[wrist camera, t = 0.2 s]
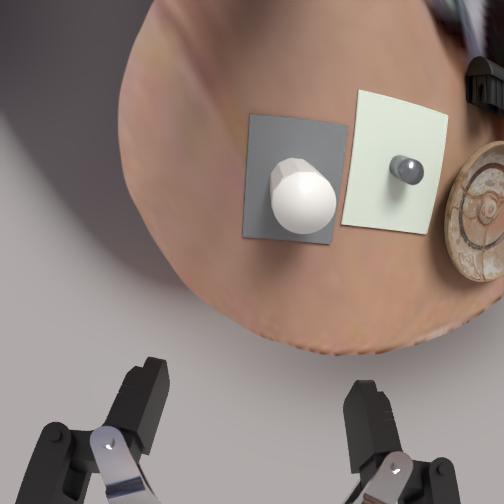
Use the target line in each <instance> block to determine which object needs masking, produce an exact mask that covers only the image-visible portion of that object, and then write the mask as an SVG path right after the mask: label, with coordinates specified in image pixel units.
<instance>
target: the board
mask: <svg viewBox="0 0 504 504" xmlns="http://www.w3.org/2000/svg"><path fill="white" fill-rule="evenodd" d="M447 124H448V115H445V114H443V113H440V112H437V111H434V110H431V109H428V108H425V107H422V106H419V105H416V104H413V103H409V102H406V101H402V100H399V99H395V98H392V97H388V96H384V95H380V94H376V93H372V92H367V91H363V90H358V96H357V108H356V118H355V128H354V137H353V146H352V154H351V161H350V169H349V176H348V183H347V189H346V195H345V202H344V208H343V214H342V219H341V224H343V225H353V226H362V227H371V228H380V229H388V230H396V231H404V232H412V233H420V234H427V231H428V228H429V224H430V220H431V216H432V212H433V207H434V203H435V198H436V194H437V189H438V184H439V179H440V173H441V168H442V162H443V155H444V148H445V141H446V133H447ZM396 155H403V156H406V157H409V158H412V159H415V160H417V161H419V162H420V163H421V164H422V166H423V168H424V176H423V179H422V180H421V182H420V183H418V184H417V185H409V184H407V183H405V182H404V181H402V180H400V179H398V178H396V177H394V176H393V175H392V174H391V172H390V168H389V165H390V161H391V160H392V158H393V157H394V156H396Z"/></svg>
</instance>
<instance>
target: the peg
mask: <svg viewBox="0 0 504 504" xmlns="http://www.w3.org/2000/svg"><path fill="white" fill-rule="evenodd" d="M389 168H390V172H391V174H392V175H393V176H394V177H396V178H398V179H400V180H402V181H404V182H405V183H407V184H409V185H417V184H418V183H420V182H421V180H422V179H423V176H424V168H423V166H422V164H421V163H420V162H419V161H417V160H415V159H412V158H409V157H406V156H403V155H396V156H394V157H393V158H392V160H391V161H390V165H389Z"/></svg>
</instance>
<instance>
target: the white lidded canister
mask: <svg viewBox="0 0 504 504" xmlns="http://www.w3.org/2000/svg"><path fill="white" fill-rule="evenodd" d="M270 195H271V207H272V210H273V212H274V215H275V217H276V219H277V221H278V222H279V223H280V224H281V225H282V226H283V227H284V228H285V229H287V230H289V231H291V232H293V233H297V234H310V233H314V232H317V231H319V230H321V229H322V228H324V227H325V226H326V225H327V224H328V223H329V222H330V220H331V219H332V217H333V215H334V212H335V209H336V196H335V193H334V190H333V188H332V187H331V185H330V182H329V181H328V180H327V179H326V178H325V177H324V176H323V175H322V174H321V173H319V172H318V171H317V170H316V169H315V168H314V167H313V166H312V165H310V164H309V163H308V162H306V161H305V160H304V159H297V158H288V159H286V160H284V161H282V162H279V163H278V164H277V165H276V167H275V168H274V170H273V171H272V172H271V176H270Z"/></svg>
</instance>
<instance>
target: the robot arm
mask: <svg viewBox="0 0 504 504" xmlns="http://www.w3.org/2000/svg"><path fill="white" fill-rule="evenodd" d="M169 386H170V380H169V374H168V368H167V362H166V360H163V359H158V358H154V357H148V358H147V359H146V361H145V364H144V366H143V368H142V367H138V366H135V367H133V368H132V369H131V370H130V371H129V372H128V373H127V374H126V376H125V378H124V381H123V383H122V385H121V387H120V389H119V393H118V394H117V396H116V398H115V400H114V403H113V405H112V407H111V410H110V412H109V414H108V416H107V419H106V421H105V423H104V424H103V425H102V426H101V427H99V428H97V429H95V430H92V431H79V430H69V429H68V427H67V426H65V425H64V424H62V423H60V422H52V423H49V424H47V425H46V426H45V427H44V429H43V430H42V433H41V435H40V438H39V440H38V442H37V444H36V447H35V449H34V452H33V454H32V457H31V459H30V462H29V464H28V467H27V470H26V473H25V476H24V478H23V481H22V484H21V487H20V490H19V493H18V496H17V499H16V503H15V504H83V503H84V499H85V495H86V492H87V488H88V484H89V481H90V477H91V474H92V473H100V474H101V476H102V479H103V481H104V483H105V486H106V497H107V499H108V502H109V504H161V503H160V501H159V500H158V498H157V497H156V495H155V493H154V492H153V489H152V488H151V486H150V484H149V482H148V480H147V478H146V476H145V474H144V472H143V470H142V468H141V466H140V463H139V460H140V457H141V454H146V455H149V453H150V450H151V447H152V443H153V440H154V437H155V434H156V430H157V427H158V424H159V421H160V417H161V414H162V411H163V408H164V405H165V402H166V399H167V396H168V392H169ZM343 413H344V420H345V427H346V434H347V442H348V449H349V457H350V465H351V473H352V474H354V473H360V479H359V480H358V482H357V483H356V485H355V486H354V488H353V489H352V491H351V492H350V493H349V495H348V496H347V497H346V499H345V500H344V502H343V503H342V504H395V503H396V501H397V500H398V504H461V503H460V497H459V491H458V485H457V480H456V475H455V470H454V466H453V464H452V462H451V461H450V460H449V459H447V458H444V457H440V458H437V459H435V460H434V461H432V462H422V461H416V460H412V459H411V458H410V457H409V455H407V454H406V453H404V452H403V450H402V448H401V444H400V440H399V435H398V431H397V427H396V423H395V421H394V416H393V413H392V408H391V405H390V402H389V399H388V398H387V397H386V395H385V394H384V393H383V392H377V388H376V384H375V382H374V381H373V380H357V381H356V382H355V383H354V385H353V386H352V388H351V390H350V392H349V394H348V395H347V397H346V398H345V401H344V405H343Z"/></svg>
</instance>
